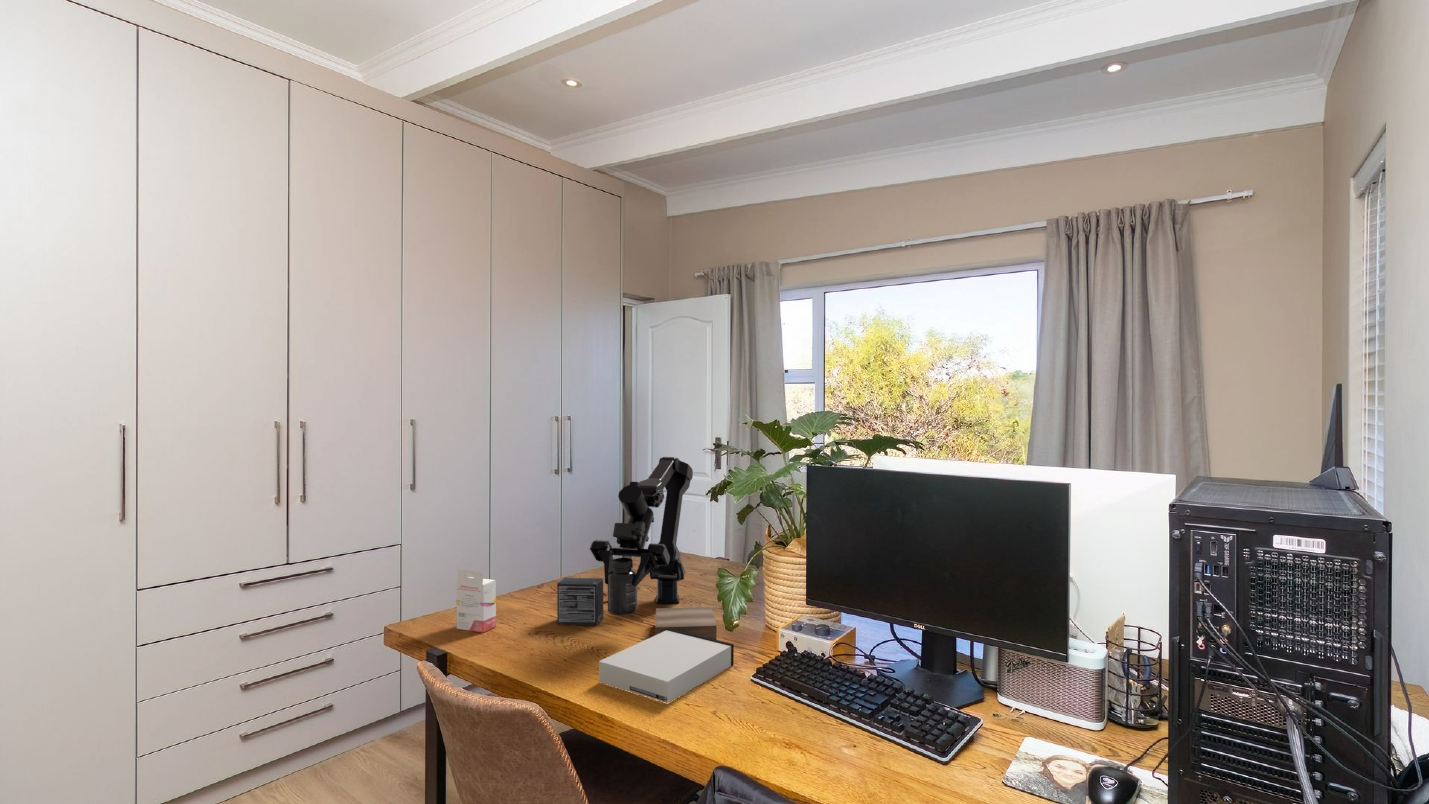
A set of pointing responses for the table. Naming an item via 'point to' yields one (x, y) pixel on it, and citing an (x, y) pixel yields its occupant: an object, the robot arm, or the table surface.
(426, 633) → the table surface
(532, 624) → the table surface
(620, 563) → the supplement bottle
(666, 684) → the disc drive
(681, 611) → the walnut block
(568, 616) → the small box
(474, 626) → the ink cartridge box
